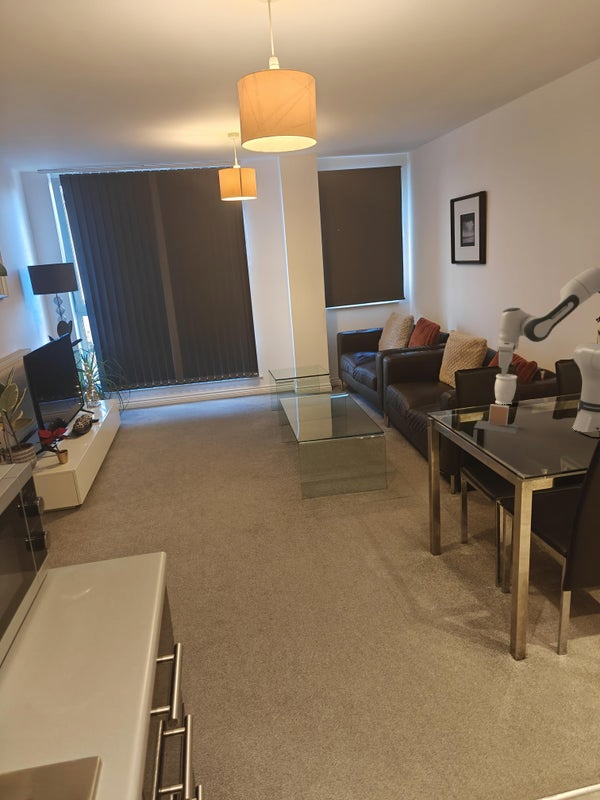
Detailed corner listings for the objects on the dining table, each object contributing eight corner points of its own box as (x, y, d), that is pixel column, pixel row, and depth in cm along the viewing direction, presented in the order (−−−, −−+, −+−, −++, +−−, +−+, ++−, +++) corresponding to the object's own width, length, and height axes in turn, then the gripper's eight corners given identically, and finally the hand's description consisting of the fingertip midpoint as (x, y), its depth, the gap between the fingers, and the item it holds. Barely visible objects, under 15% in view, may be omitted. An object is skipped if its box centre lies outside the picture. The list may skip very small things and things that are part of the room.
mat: (518, 426, 245) (518, 425, 244) (515, 434, 234) (515, 433, 234) (478, 420, 252) (478, 420, 252) (473, 428, 242) (473, 427, 242)
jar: (516, 406, 274) (519, 378, 270) (495, 405, 276) (498, 377, 272) (511, 400, 284) (514, 373, 280) (491, 400, 286) (494, 373, 282)
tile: (506, 424, 246) (509, 406, 243) (506, 426, 244) (508, 407, 242) (488, 422, 249) (490, 404, 247) (488, 423, 248) (490, 405, 245)
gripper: (503, 339, 252) (500, 368, 256) (497, 347, 234) (494, 377, 238) (517, 341, 249) (514, 369, 253) (512, 348, 232) (509, 379, 235)
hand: (504, 373), depth 245 cm, fingers open, 6 cm apart
